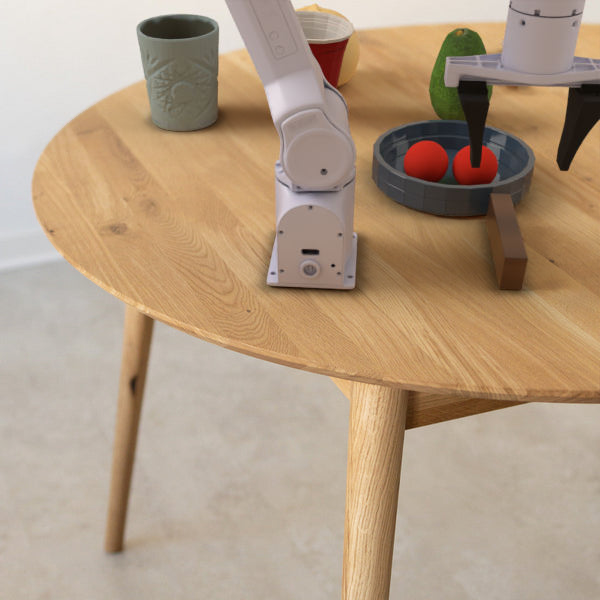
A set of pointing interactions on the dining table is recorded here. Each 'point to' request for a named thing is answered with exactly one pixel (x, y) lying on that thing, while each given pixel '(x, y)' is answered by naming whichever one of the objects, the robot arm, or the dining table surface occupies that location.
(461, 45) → the avocado
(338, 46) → the plastic cup
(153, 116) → the green ceramic cup
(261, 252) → the dining table surface
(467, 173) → the tomato
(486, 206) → the bowl
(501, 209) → the wooden block
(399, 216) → the dining table surface
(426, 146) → the tomato
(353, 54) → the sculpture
